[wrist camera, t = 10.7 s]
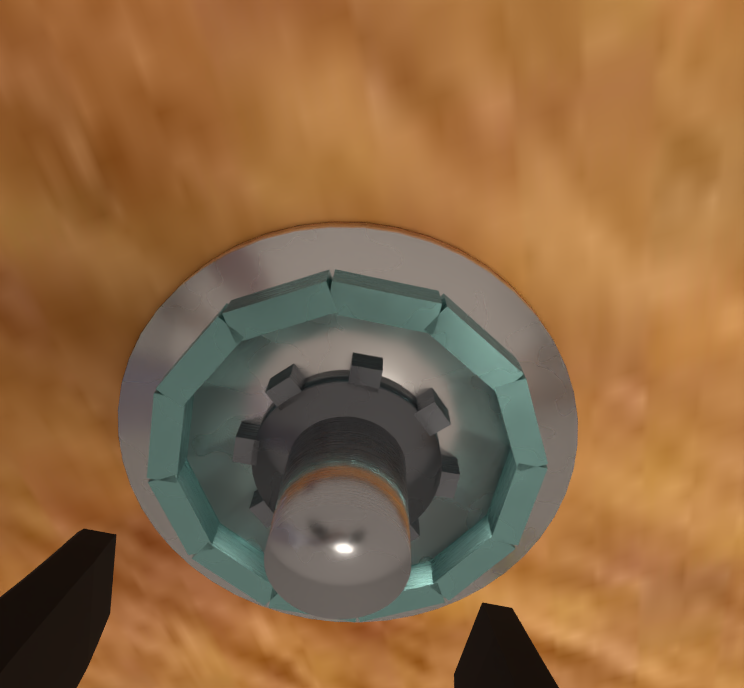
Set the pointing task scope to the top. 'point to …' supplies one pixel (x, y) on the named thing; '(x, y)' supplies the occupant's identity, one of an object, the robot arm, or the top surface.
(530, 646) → the robot arm
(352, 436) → the gear
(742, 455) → the top surface
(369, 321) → the plate
